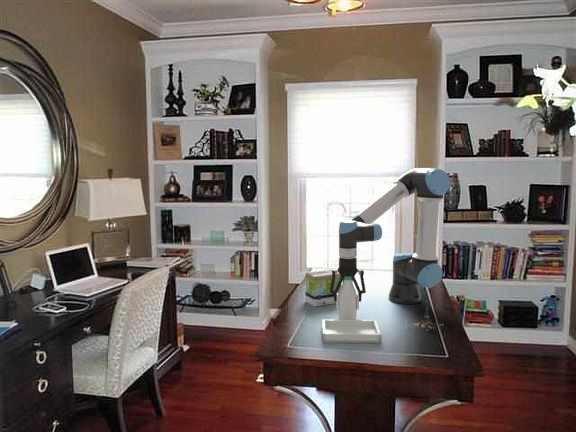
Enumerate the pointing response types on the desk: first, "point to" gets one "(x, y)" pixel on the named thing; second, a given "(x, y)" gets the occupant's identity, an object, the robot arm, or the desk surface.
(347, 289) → the milk bottle
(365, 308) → the desk surface
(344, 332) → the tray
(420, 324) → the eiffel tower figurine
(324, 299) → the tea box
